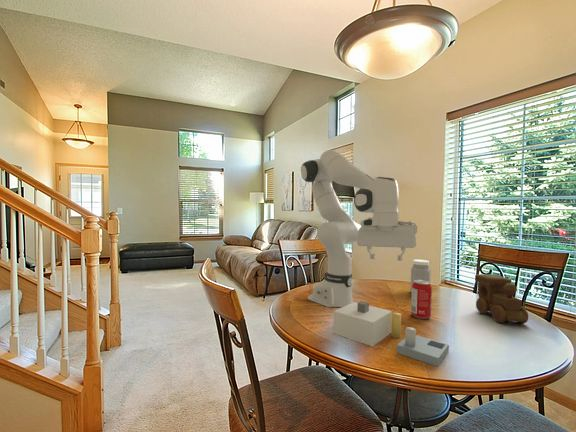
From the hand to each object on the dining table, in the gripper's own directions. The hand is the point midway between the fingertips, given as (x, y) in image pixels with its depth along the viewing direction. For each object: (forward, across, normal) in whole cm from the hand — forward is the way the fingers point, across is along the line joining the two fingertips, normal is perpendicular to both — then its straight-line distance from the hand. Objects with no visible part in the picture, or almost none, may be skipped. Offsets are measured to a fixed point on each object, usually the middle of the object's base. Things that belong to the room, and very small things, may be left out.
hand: (385, 259), depth 107 cm
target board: (+28, -12, +8) cm, 31 cm away
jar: (+26, -12, -65) cm, 71 cm away
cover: (+27, +8, +2) cm, 28 cm away
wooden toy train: (+28, -43, -41) cm, 65 cm away
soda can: (+27, -12, -26) cm, 39 cm away
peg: (+27, -3, -1) cm, 27 cm away
